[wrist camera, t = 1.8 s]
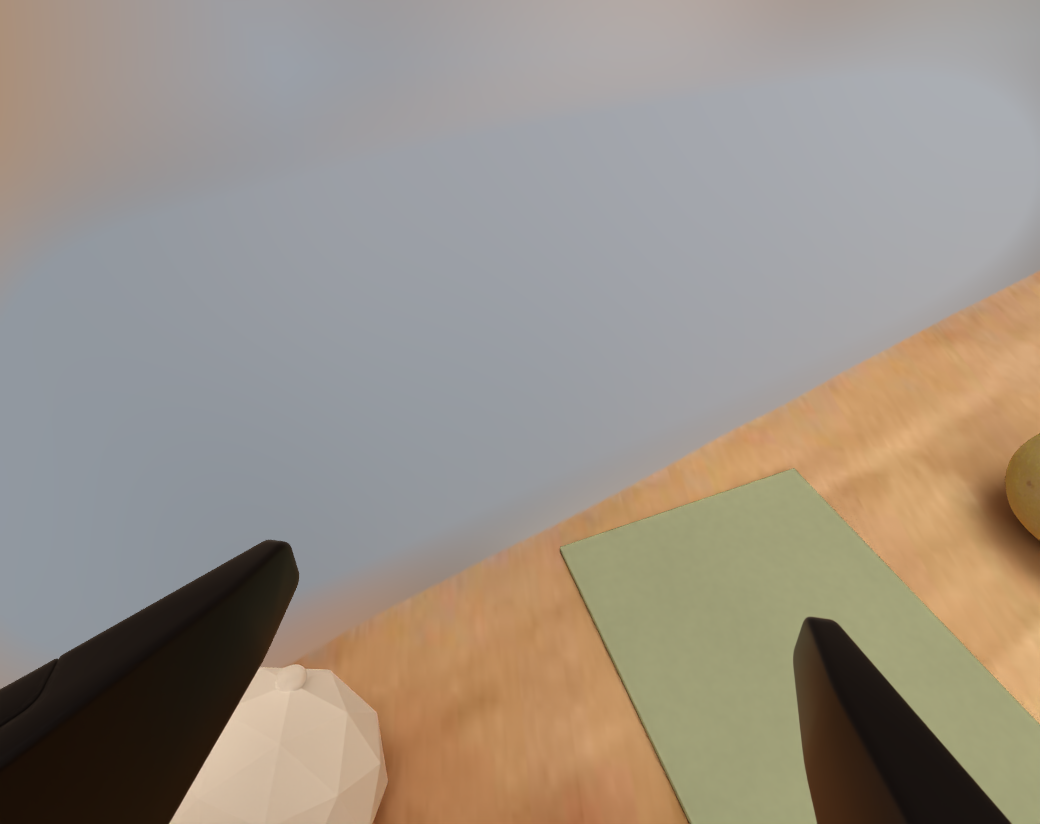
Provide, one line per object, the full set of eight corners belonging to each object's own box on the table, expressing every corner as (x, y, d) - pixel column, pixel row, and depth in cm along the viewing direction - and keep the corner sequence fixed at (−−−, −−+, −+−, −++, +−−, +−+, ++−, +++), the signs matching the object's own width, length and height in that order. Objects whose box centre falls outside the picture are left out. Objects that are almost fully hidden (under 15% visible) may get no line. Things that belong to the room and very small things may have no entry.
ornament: (173, 795, 22) (199, 602, 21) (370, 791, 24) (405, 615, 23) (82, 1017, 15) (114, 750, 14) (369, 985, 17) (417, 749, 16)
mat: (1223, 924, 18) (1231, 923, 17) (852, 1168, 15) (857, 1169, 15) (792, 471, 32) (794, 467, 31) (559, 550, 29) (559, 546, 29)
